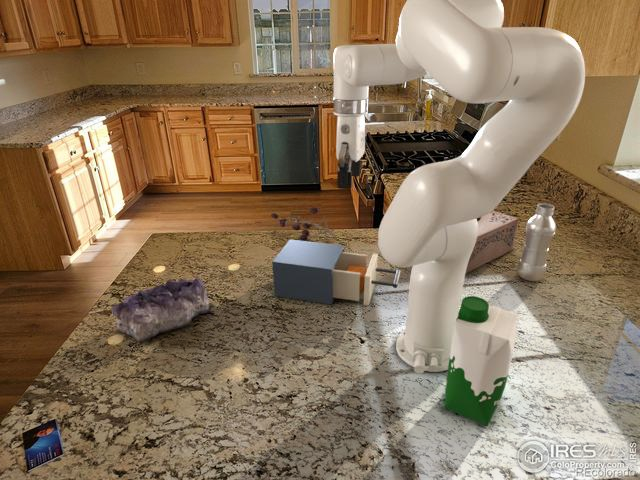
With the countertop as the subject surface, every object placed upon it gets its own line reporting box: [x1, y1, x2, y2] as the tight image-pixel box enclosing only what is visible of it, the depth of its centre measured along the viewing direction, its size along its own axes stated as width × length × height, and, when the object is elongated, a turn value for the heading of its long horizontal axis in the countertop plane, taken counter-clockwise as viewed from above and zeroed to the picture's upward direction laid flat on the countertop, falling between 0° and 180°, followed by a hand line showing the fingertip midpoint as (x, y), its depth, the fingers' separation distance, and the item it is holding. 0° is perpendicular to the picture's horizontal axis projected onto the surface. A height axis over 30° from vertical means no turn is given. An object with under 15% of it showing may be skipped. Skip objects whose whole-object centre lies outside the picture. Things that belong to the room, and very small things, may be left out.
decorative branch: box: [270, 206, 338, 243], centre depth 136 cm, size 11×9×30 cm
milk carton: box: [444, 295, 519, 427], centre depth 69 cm, size 9×9×20 cm
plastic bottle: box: [516, 203, 557, 282], centre depth 106 cm, size 6×7×20 cm
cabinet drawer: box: [333, 251, 402, 306], centre depth 103 cm, size 20×11×8 cm, turn 74°
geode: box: [111, 277, 211, 343], centre depth 94 cm, size 20×12×10 cm, turn 130°
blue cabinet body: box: [271, 239, 345, 306], centre depth 106 cm, size 15×13×10 cm
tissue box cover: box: [465, 210, 519, 275], centre depth 121 cm, size 26×14×10 cm, turn 127°
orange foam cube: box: [347, 265, 368, 294], centre depth 103 cm, size 4×4×4 cm
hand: (349, 181), depth 100 cm, fingers open, 9 cm apart
